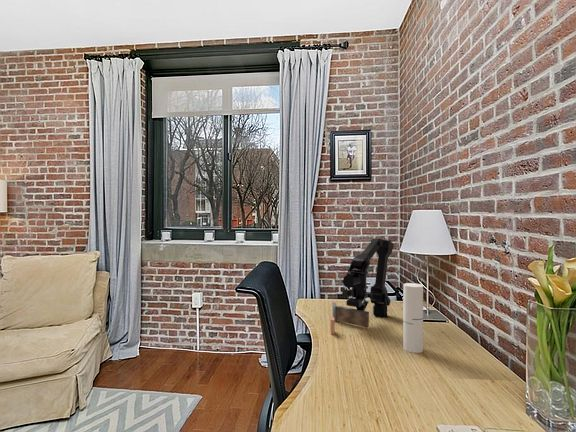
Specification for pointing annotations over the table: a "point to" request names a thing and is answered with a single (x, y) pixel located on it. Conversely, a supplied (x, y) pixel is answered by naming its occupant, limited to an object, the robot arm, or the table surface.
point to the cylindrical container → (413, 317)
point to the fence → (333, 319)
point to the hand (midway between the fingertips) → (360, 316)
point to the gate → (353, 316)
